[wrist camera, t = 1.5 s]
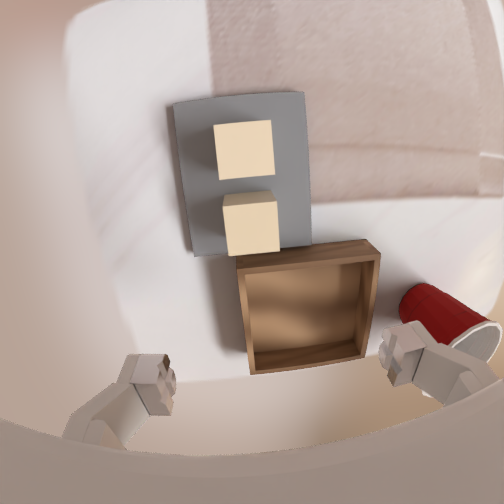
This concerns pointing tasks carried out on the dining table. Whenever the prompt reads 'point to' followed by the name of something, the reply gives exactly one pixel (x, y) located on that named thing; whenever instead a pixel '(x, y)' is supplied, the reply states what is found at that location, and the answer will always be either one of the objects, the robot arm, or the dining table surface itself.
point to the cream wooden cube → (244, 149)
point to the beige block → (251, 223)
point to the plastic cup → (450, 322)
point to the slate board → (213, 190)
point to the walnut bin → (307, 304)
